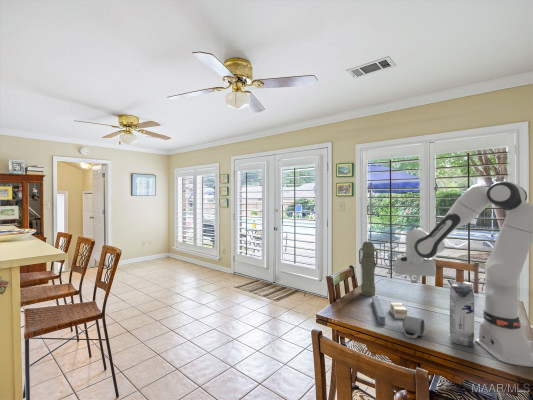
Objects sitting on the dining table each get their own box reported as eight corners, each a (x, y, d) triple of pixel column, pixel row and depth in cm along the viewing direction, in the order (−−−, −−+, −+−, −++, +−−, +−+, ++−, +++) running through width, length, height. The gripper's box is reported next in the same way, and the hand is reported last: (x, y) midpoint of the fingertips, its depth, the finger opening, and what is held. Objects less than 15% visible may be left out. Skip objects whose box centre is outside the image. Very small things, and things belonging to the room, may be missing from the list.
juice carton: (449, 343, 123) (449, 283, 122) (449, 333, 132) (449, 277, 131) (474, 349, 118) (474, 286, 117) (472, 338, 127) (473, 280, 126)
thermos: (377, 297, 177) (377, 243, 177) (358, 294, 183) (358, 242, 182) (378, 293, 185) (378, 241, 185) (359, 290, 191) (359, 240, 190)
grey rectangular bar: (385, 324, 140) (385, 317, 140) (378, 324, 141) (378, 316, 141) (377, 302, 169) (377, 296, 169) (372, 302, 170) (372, 295, 170)
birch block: (407, 319, 147) (407, 309, 147) (395, 318, 148) (395, 309, 148) (401, 311, 157) (401, 302, 157) (390, 310, 158) (390, 302, 158)
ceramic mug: (406, 327, 138) (406, 312, 137) (425, 332, 132) (424, 317, 132) (399, 335, 130) (399, 319, 130) (419, 341, 124) (419, 325, 124)
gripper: (433, 257, 150) (433, 282, 151) (393, 255, 156) (393, 279, 156) (437, 260, 144) (437, 286, 145) (395, 258, 150) (395, 283, 150)
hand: (414, 282), depth 150 cm, fingers closed
